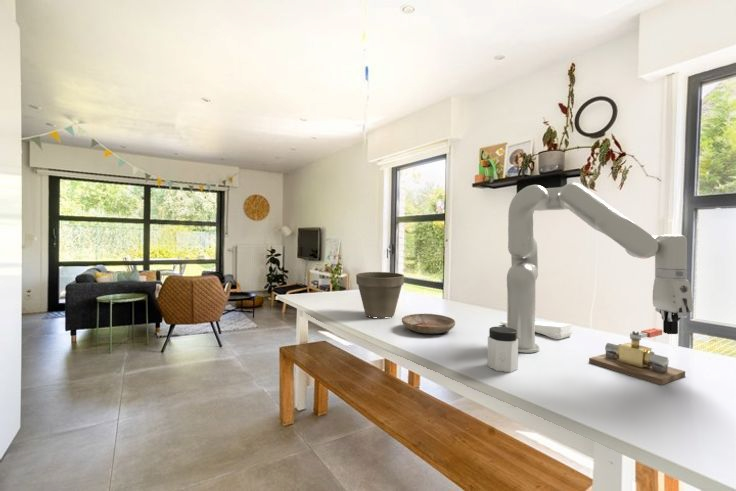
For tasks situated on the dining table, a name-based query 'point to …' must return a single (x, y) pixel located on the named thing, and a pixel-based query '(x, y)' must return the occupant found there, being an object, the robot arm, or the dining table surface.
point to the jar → (503, 349)
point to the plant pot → (379, 292)
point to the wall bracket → (552, 329)
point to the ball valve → (637, 356)
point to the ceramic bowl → (428, 323)
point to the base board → (638, 370)
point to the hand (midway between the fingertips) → (670, 333)
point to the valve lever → (645, 334)
